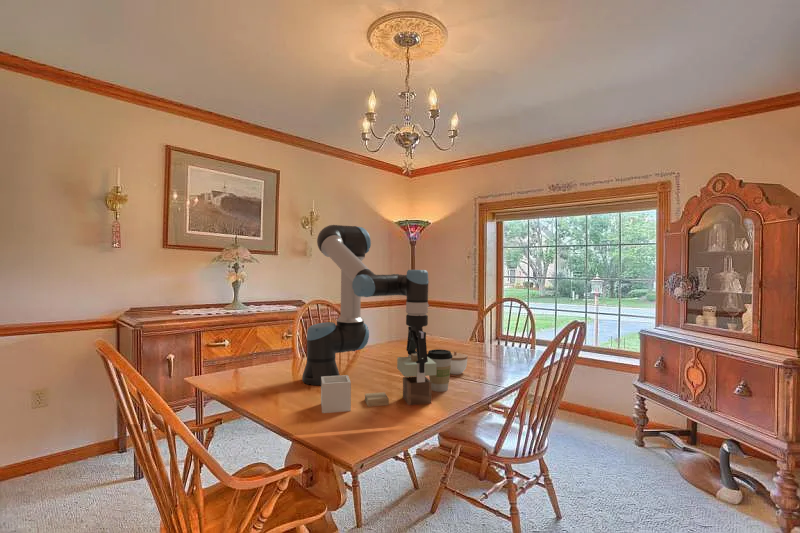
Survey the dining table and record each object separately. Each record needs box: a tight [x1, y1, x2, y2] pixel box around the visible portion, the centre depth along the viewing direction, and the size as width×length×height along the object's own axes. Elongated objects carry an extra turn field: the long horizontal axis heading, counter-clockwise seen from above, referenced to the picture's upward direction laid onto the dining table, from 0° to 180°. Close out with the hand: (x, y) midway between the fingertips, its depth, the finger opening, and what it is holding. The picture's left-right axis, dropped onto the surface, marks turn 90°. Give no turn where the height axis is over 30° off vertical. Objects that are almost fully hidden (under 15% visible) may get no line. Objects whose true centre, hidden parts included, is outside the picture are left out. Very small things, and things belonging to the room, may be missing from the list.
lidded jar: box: [450, 351, 468, 375], centre depth 184 cm, size 11×11×9 cm
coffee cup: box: [427, 348, 452, 393], centre depth 156 cm, size 10×10×15 cm
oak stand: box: [364, 391, 390, 408], centre depth 141 cm, size 7×7×3 cm
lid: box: [396, 354, 436, 377], centre depth 143 cm, size 11×11×6 cm
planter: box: [320, 374, 352, 414], centre depth 135 cm, size 9×9×10 cm
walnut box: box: [402, 376, 432, 406], centre depth 143 cm, size 8×8×8 cm
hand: (416, 377), depth 143 cm, fingers closed on lid, 11 cm apart
